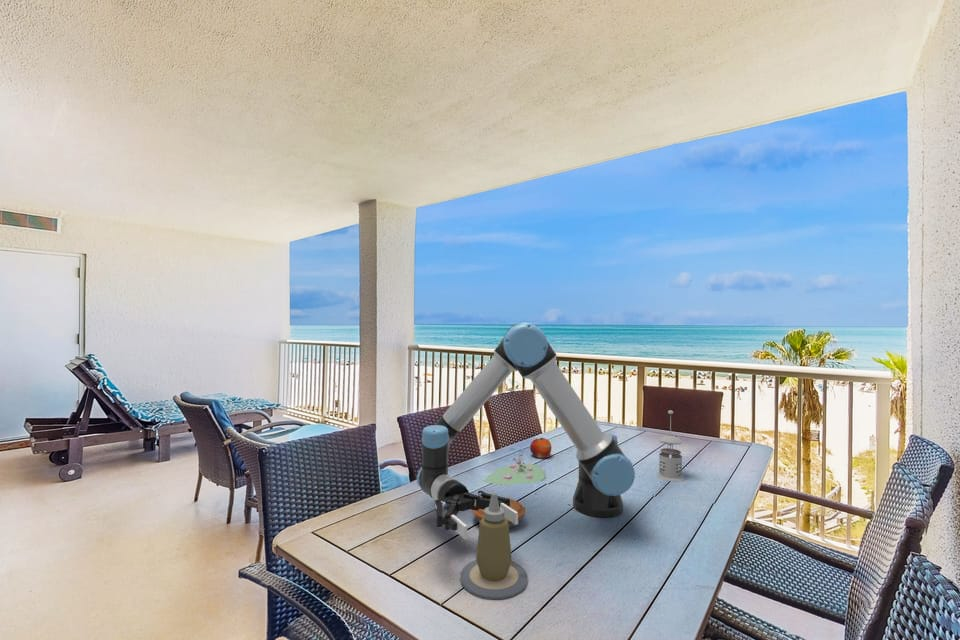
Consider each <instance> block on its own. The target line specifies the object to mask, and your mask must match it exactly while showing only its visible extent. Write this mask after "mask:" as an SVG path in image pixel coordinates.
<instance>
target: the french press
mask: <svg viewBox="0 0 960 640" xmlns="http://www.w3.org/2000/svg"><path fill="white" fill-rule="evenodd" d="M667 414H669V415H670V416H669V418H670V419H669V422H670V424H669V426H670V427H669V431H670V433H669V434H670V435H664V436H661V437H659V438H658V440H659V441H660V442H661V443H664V444H667V446H669V447H666V448H665V447H664V448H661V449H660V452H659V454H658V458H659V459H658V460H659V462H658V463H659V464H658V466H659V469H658V472H657V473H656V477H657V478H658V479H661V480H663V481H667V482H668V481H669V482H683V481H685V479H686V478H685V477H684V476H683V456H682V455H681V454H682V451H681V450H679V449H676V448H674V445H681V444H683V440H682V439H680V438H679V437H676V436H674V435H672V414H674V411H673V410H669V409H668V411H667ZM670 455H671V456H670Z"/></svg>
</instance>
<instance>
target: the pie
mask: <svg viewBox="0 0 960 640" xmlns="http://www.w3.org/2000/svg"><path fill="white" fill-rule="evenodd" d="M506 498H507V499H510V507H511V508H513V510H515V511H516V512H518V523H519V522H520V520H521V518H523V517H524V515H525V513H526V507H524V505H523V504H521V502H519V501H517V500H515V499H512V498H509V497H506ZM474 506H476V502H475V504H474ZM471 511H472V513H473V515H474V516H475V518H477V520H478V522H479V523H480V520H481V519H482V518H483V517H484V510H483V509H479V510H478V511H476V510H471ZM504 518H505V517H504ZM505 519H506V518H505ZM507 520H508V519H507ZM508 524H509V529H512V528H514V527H516V525H515V524H513V523H512V522H511V521H509V520H508Z"/></svg>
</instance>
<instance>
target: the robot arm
mask: <svg viewBox="0 0 960 640" xmlns="http://www.w3.org/2000/svg"><path fill="white" fill-rule="evenodd" d="M557 355H558V354H556V352H555V350H554V348H552V346H551V344H550V343H549V342H548V338H547V336H546V334H545V332H544V331H543V330H542V329H541V328H540V327H539V326H537V325H535V324H533V323H530V322H519V323H517V324H516V323H515V324H513V325H512V326H511V327H510V328H508V329H507V331H506V333H505V334H504V336H503V338H502V339H501V341H500V343H499V344H498V345H497V346H496V348H495V349H493V356H492V357H491V358H490V359H489V361H488V362H487V363H486V364H485V365H484V367H482V369H481V370H480V371H479V373H478V374H477V375H476V376H475V377H474V379H473V380H471V382H469V385H468V386H466V388H465V389H464V390H462V392H461V394H460V395H459V396H458V397H457V398H456V399H455V401H454V402H453V403H452V404H451V405H450V406H449V407H448V408H447V410H446V411H445V412H444V413H443V414H442V416H441V417H440V418H439V419H438V420H437V422H435V423H434V424H433V425H427V426H425V427H424V428H423V429H422V435H421V436H422V437H421V459H422V460H421V467H420V468H419V471H418V472H417V474H416V483H417V486H418V487H419V488H420V489H421V491H422V492H424V493H425V494H426V495H428V496H429V497H431V499H432V500H434V511H435V512H436V526H435V527H436V528H437V529H438V528H439V529H440V528H442V526H444V530H445V531H450V530H451V531H455V532H456V533H457V534H458V535H459V536H460V537H461V538H462V539H463V540H467V539H468V525H467V524H466V523H464V522H463V521H462V520H461V519H459V518H458V517H457V515H458V513H459V512H465V511H469V510H470V511H472V510H476V511H478V510H479V509H483V510H484V509H485V508H487V507H489V504H490V500H491V495H492V493H487V492H485V491H483V490H477V493H476V494H474V493H470V492H469V490H468V488H467V487H466V486H465V484H463V483H461V482H460V481H459V480H457V479H456V478H454V477H453V476H451V475H450V474H449V449H450V446H451V443H452V442H453V441H454V440H455V439H456V437H458V435H459V434H460V433H461V431H462V430H463V429H464V428H465V427H466V426H467V425H468V424H469V422H470V421H471V420H472V419H473V418H474V416H475V415H476V414H477V412H479V410H480V409H482V408H483V406H484V405H485V403H487V401H488V400H490V398H491V397H492V395H493V394H494V393H495V392H496V391H497V390H498V388H500V386H501V385H502V384H503V383H504V382H505V381H506V380H507V379H508V377H509V376H510V375H511V374H512V372H518V373H519V375H520V376H521V378H523V379H527V380H530V382H531V383H532V384H533V386H534V387H535V388H536V390H537V392H538V393H539V394H540V396H541V398H542V399H543V400H544V402H545V404H546V405H547V407H548V408H549V410H550V411H551V413H552V414H553V415H554V416H555V418H556V420H557V422H558V423H559V424H560V426H561V427H562V429H563V430H564V432H565V434H566V435H567V436H568V438H569V439H570V441H571V442H572V444H573V445H574V447H575V448H576V457H575V458H576V459H577V461H578V481H577V485H576V487H575V490H574V493H573V496H572V506H573V508H574V510H575V511H577V512H579V513H582V514H583V515H587V516H590V517H596V518H612V517H617V516H619V515H621V514H622V513H623V512H624V502H623V499H622V495H624V494H625V493H626V492H627V491H629V489H630V488H631V487H632V486H633V484H634V481H635V478H636V472H635V467H634V466H633V463H632V461H631V460H630V459H629V458H628V457H627V456H626V455H625V454H624V452H623V451H622V449H621V448H620V447H619V444H618V443H619V441H618V437H617V435H616V434H614V433H610V432H604V431H602V429H601V428H600V427H599V425H598V424H597V422H596V421H595V419H594V417H593V416H592V415H591V413H590V411H589V410H588V408H587V407H586V406H585V404H584V402H582V401H583V400H581V398H580V397H579V396H578V394H577V392H576V391H575V389H574V388H573V386H572V385H571V384H570V382H569V381H568V379H567V378H566V376H565V375H564V374H563V372H562V370H561V369H560V368H559V366H558V364H557ZM497 497H498V502H499V507H501V508H503V509H504V517H505V518H506V519H508V520H509V521H511V522H512V523H513V524H515V526H516V525H519V522H518V512H516V511H515V510H513V508H511V507H510V499H511V498H510V499H507V498H508V497H503V496H499V495H497ZM475 503H476V506H474V504H475ZM444 510H446V512H445V514H444V516H443V512H444Z"/></svg>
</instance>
